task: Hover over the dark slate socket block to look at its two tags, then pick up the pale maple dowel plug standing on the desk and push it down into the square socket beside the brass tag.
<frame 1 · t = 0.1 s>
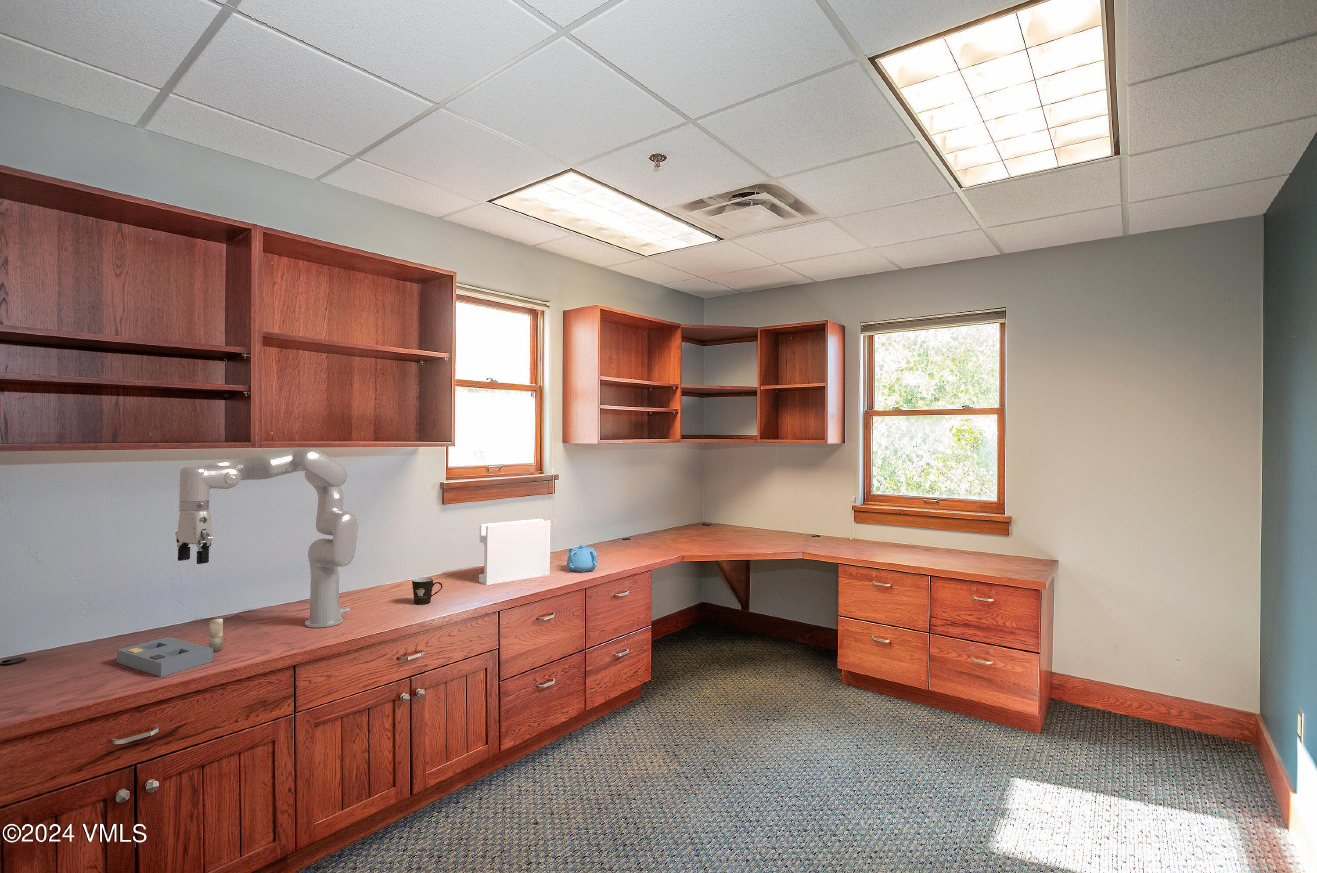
hand: (193, 561, 194), 31 cm above the worktop, fingers open, 9 cm apart
decorative pot: (582, 570, 333), on the worktop
coffee mug: (425, 603, 264), on the worktop
plug: (215, 650, 204), on the worktop
block: (515, 578, 312), on the worktop
socket block: (165, 662, 194), on the worktop
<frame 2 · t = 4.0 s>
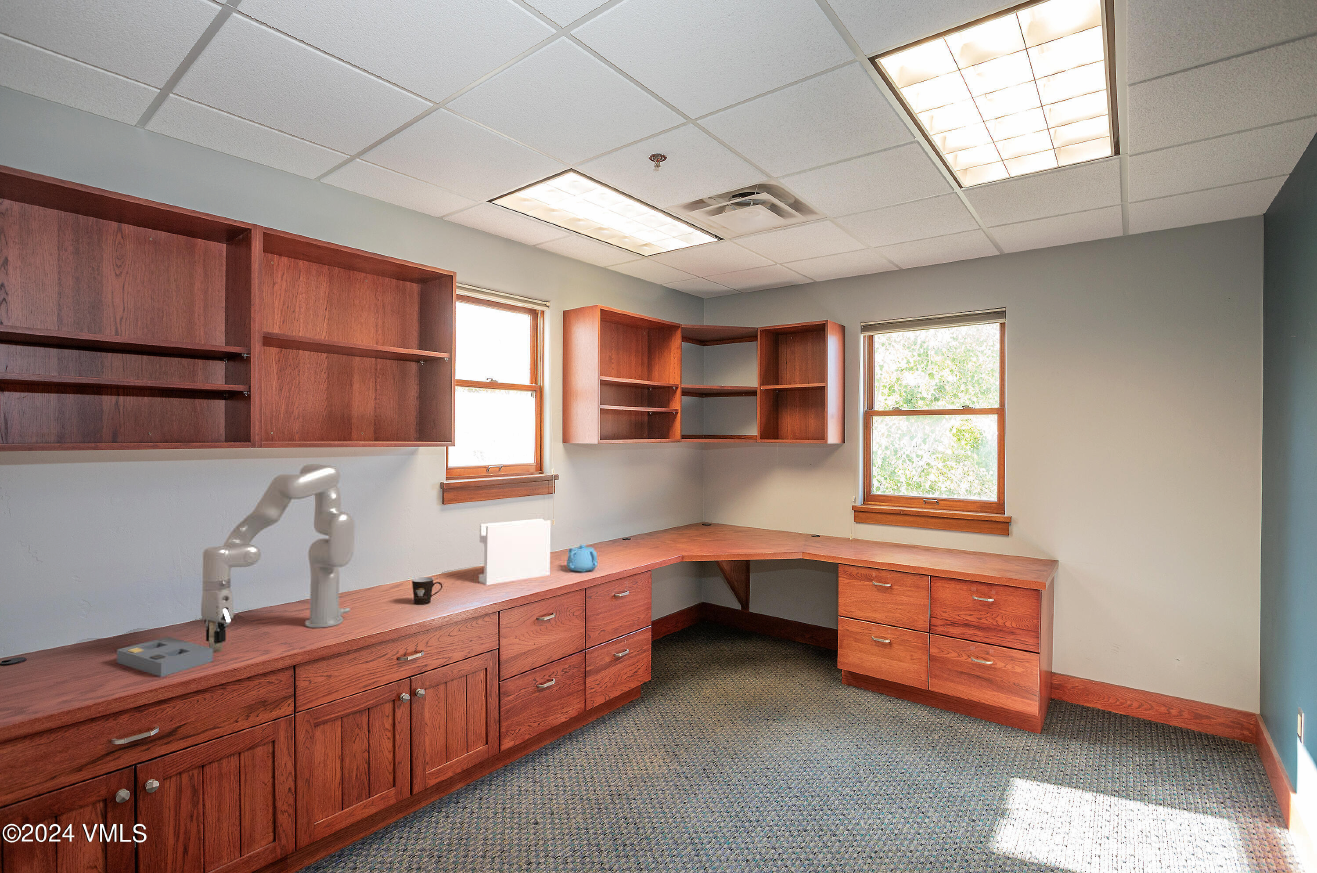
hand: (215, 640, 204), 3 cm above the worktop, fingers closed on plug, 3 cm apart
plug: (215, 650, 204), on the worktop, touching gripper
everything else where it was.
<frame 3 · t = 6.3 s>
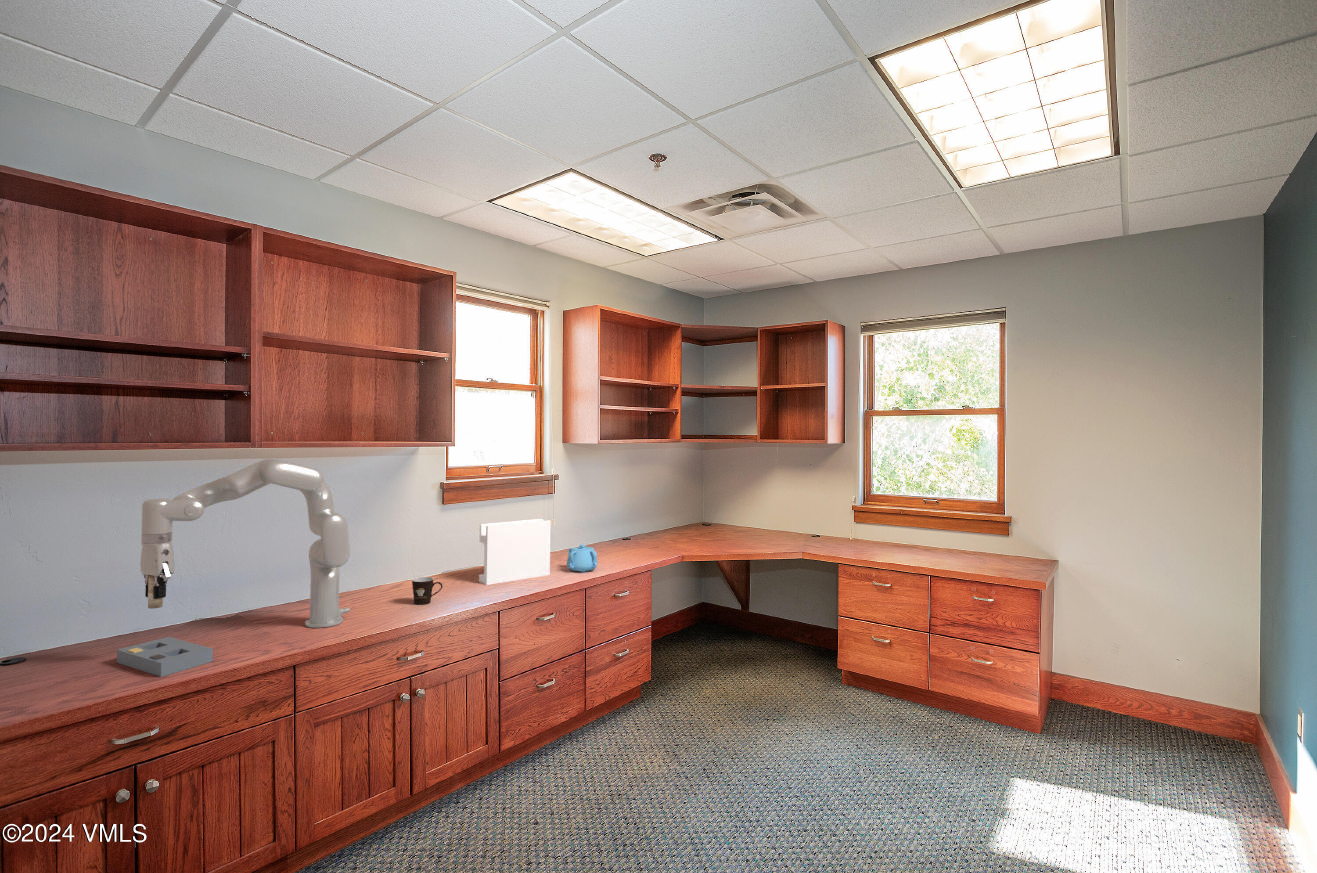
hand: (155, 596, 196), 19 cm above the worktop, fingers closed on plug, 3 cm apart
plug: (155, 607, 196), point 16 cm above the worktop, touching gripper
everything else where it was.
when the fingers open (5 cm above the worktop, at t = 8.8 s): plug stays where it is, resting on socket block.
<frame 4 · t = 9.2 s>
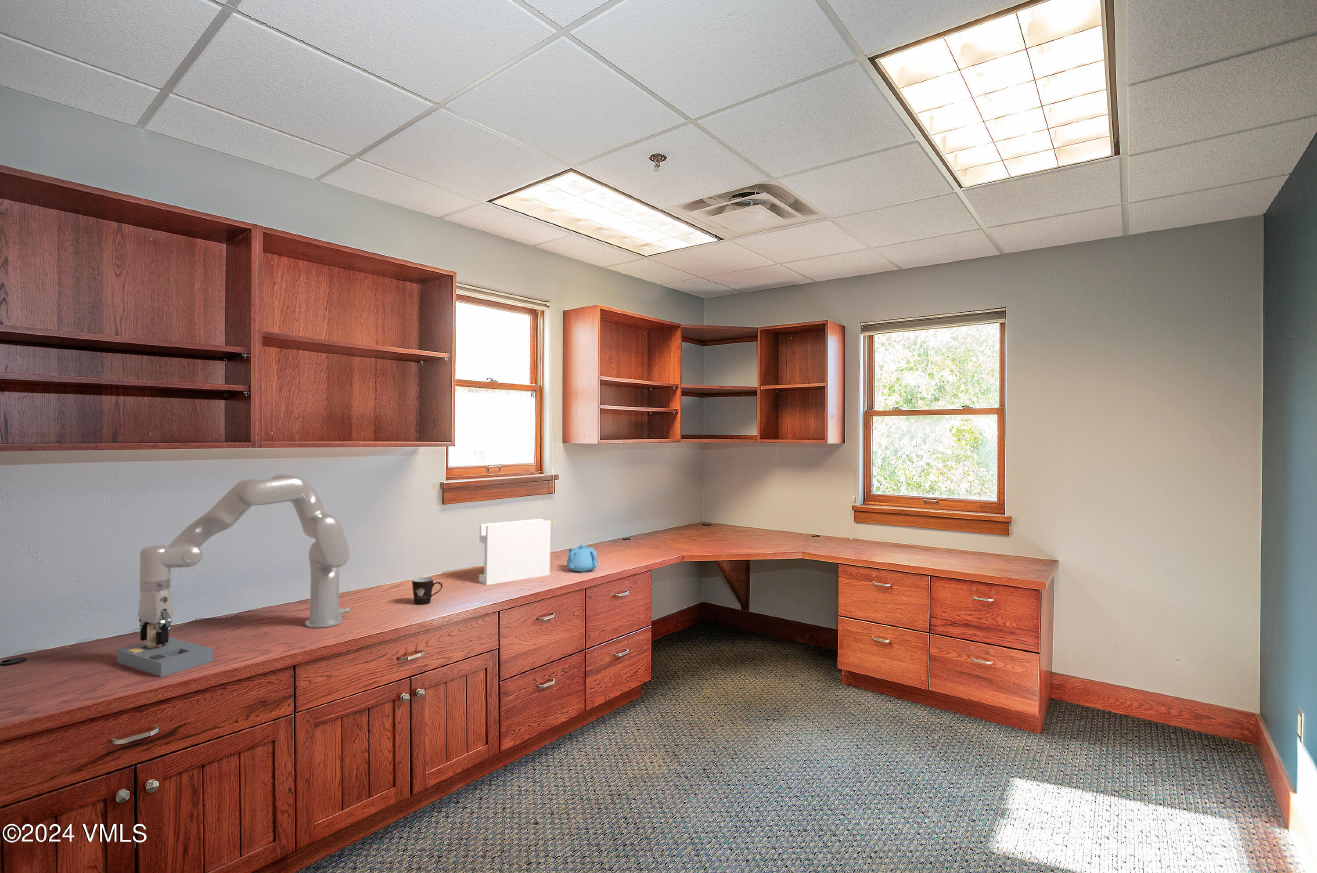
hand: (154, 641, 196), 5 cm above the worktop, fingers open, 8 cm apart
plug: (154, 655, 196), point 1 cm above the worktop, touching socket block
everything else where it was.
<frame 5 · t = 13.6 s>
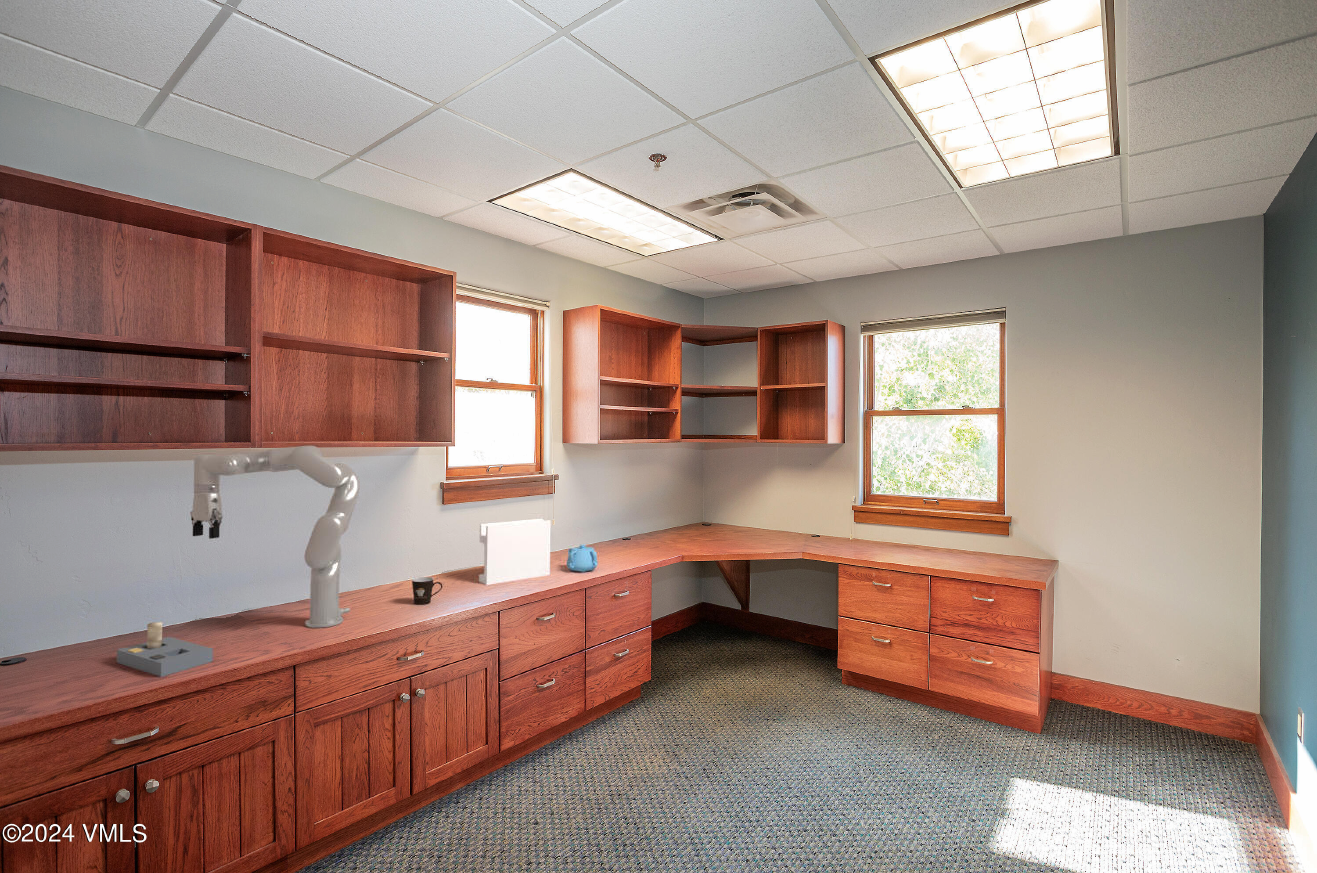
hand: (205, 536, 225), 33 cm above the worktop, fingers open, 9 cm apart
nothing on the worktop moved.
at the end: plug 0.1 cm from the target spot on the socket block, point 1.0 cm above the socket block's base; plug tilted 0°; the gripper is holding nothing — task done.
